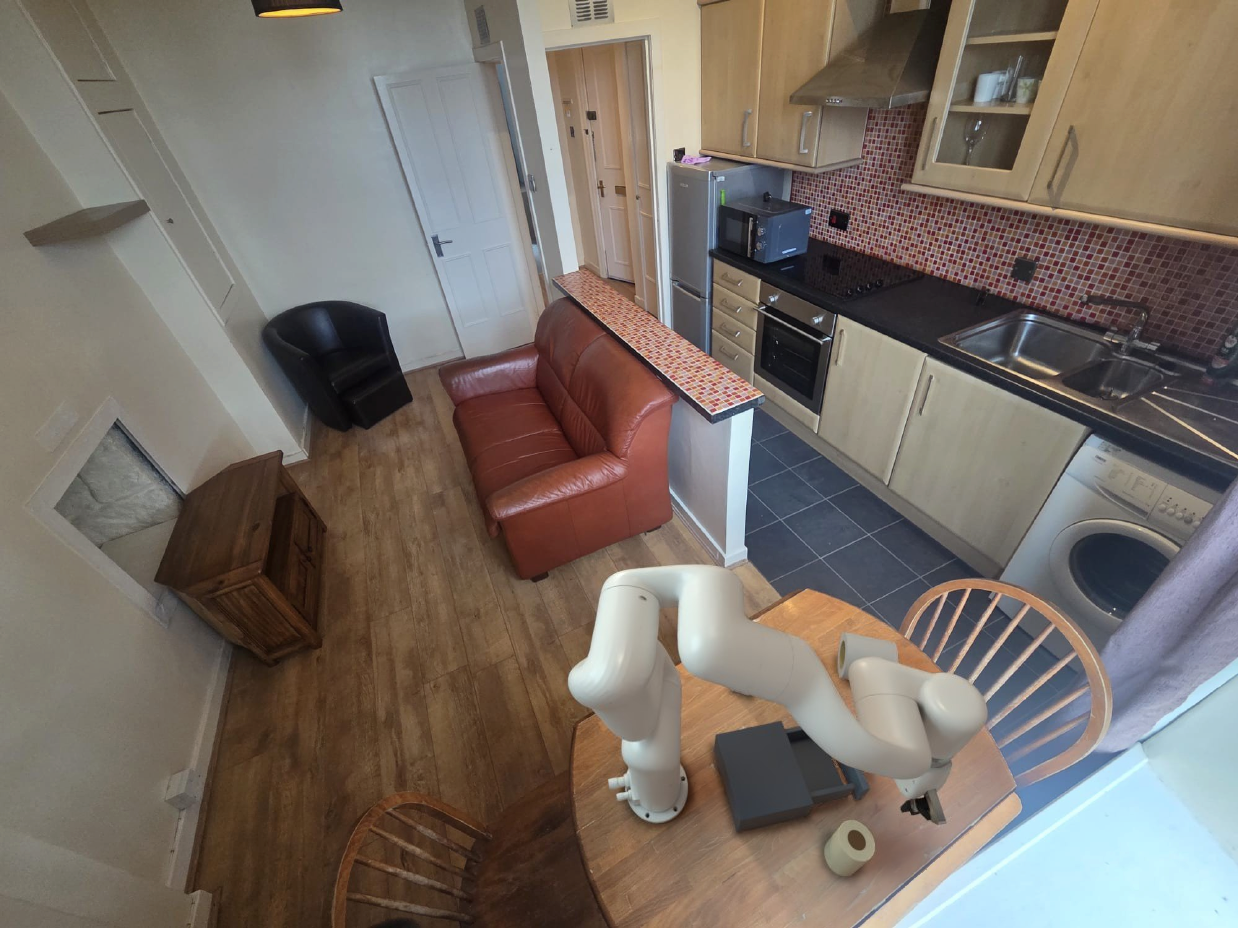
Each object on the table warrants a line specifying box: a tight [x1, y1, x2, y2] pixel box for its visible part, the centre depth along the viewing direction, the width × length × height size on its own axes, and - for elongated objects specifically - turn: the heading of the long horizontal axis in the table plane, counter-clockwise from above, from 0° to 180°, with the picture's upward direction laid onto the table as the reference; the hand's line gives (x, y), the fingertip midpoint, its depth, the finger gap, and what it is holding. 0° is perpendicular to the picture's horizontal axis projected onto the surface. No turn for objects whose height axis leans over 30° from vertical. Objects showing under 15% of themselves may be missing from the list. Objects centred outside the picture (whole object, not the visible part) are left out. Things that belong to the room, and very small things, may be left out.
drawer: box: [784, 725, 871, 806], centre depth 100 cm, size 17×13×7 cm
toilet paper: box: [837, 631, 899, 681], centre depth 113 cm, size 10×10×10 cm
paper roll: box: [823, 819, 876, 877], centre depth 88 cm, size 6×6×12 cm
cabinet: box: [713, 720, 815, 833], centre depth 99 cm, size 14×15×9 cm
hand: (893, 774), depth 83 cm, fingers open, 9 cm apart
